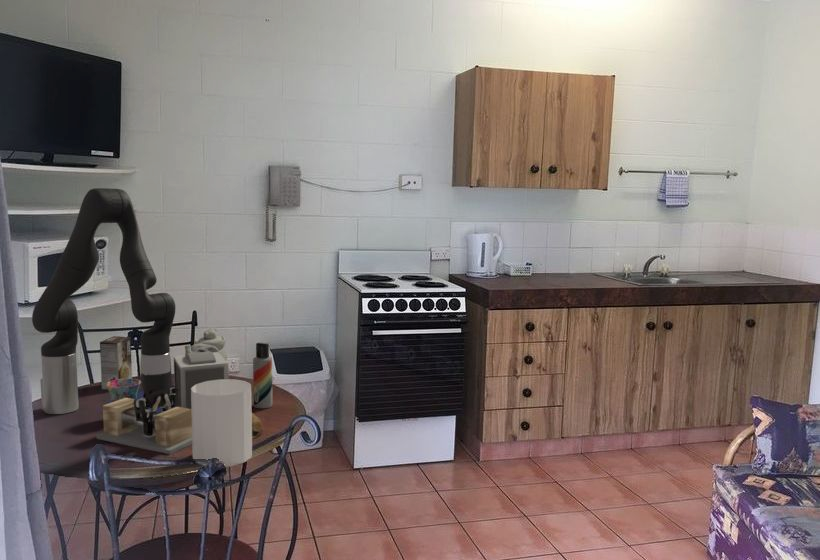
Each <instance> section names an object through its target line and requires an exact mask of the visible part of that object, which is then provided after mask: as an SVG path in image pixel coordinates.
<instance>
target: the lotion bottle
mask: <svg viewBox="0 0 820 560" xmlns="http://www.w3.org/2000/svg"><path fill="white" fill-rule="evenodd" d="M269 351H270V344H269V343H266V342H256V344H255V357H253V359H252V371H253V372H252V378H253V383H252V385H253V390H252V391H253V407H254V408H257V409H269V408H271V407H272V406H273V358H272V357H271V356H270V352H269Z"/></svg>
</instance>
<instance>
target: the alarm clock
mask: <svg viewBox="0 0 820 560" xmlns="http://www.w3.org/2000/svg"><path fill="white" fill-rule="evenodd" d="M219 379H230V377H229V362H228V360H227V361H226V360H225V359H224V358H223V357H222V356H221V355H220V353H219V352H214V353H212V352H211V351H209V352H197V353H186V354H185V353H184V354H182V355H181V354H179V355H173V381H174V382H173V383H174V384H173V385H174V386H173V387H175V388H178V389H179V392H178V407H182V408H187V409H191V388H192V387H193V386H194V385H196V384H199V383H202V382H205V381H212V380H219Z"/></svg>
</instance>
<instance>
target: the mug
mask: <svg viewBox="0 0 820 560" xmlns="http://www.w3.org/2000/svg"><path fill="white" fill-rule="evenodd" d="M106 386H107V388H108V390H107V391H108V393H109V396H110V401H111V403H112V402H115V401H118V400H121V399H124V398H131V399H137V398H138V393H139V389H140V387H141V379H139V378H132V379H131V378H126V379H117V380H112V381H110V382H108V383H106ZM122 413H123V411H121V414H122Z"/></svg>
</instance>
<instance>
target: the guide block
mask: <svg viewBox="0 0 820 560" xmlns="http://www.w3.org/2000/svg"><path fill="white" fill-rule="evenodd" d="M134 400H135V399H131V398H124V399H121V400H118V401H115V402H112V401H111V402H110V403H109V402H108V403H106V404H104V405H102V418H103V419H102V420H103V432H104V433H106V434H111V435H116V436H119V435H122V434H124V433H127V432H129V431H132V430H134V429H137V428H139V427H134V426H129V425H124V424H122V420H121V411H123V412H124V411H125V410H132V411H135V408H134Z"/></svg>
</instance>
